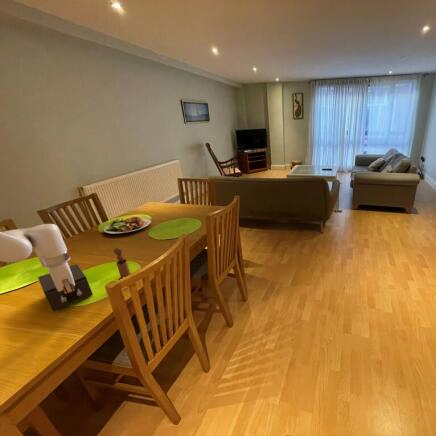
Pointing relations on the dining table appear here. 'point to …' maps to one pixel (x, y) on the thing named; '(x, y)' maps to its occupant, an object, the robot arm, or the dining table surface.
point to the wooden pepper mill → (121, 263)
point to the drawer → (60, 299)
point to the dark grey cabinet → (50, 286)
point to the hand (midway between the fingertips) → (73, 299)
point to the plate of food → (127, 225)
